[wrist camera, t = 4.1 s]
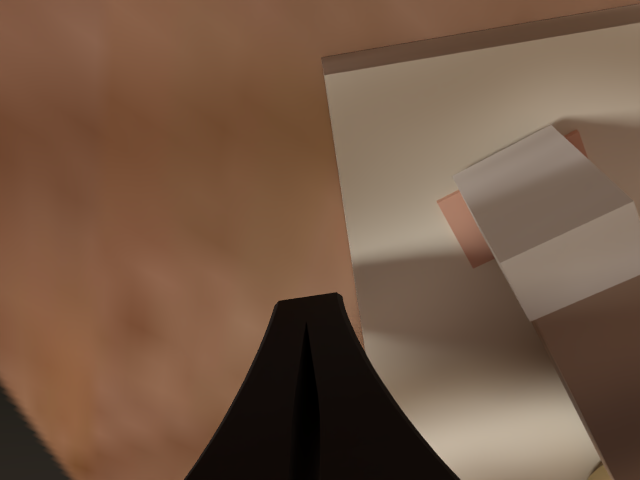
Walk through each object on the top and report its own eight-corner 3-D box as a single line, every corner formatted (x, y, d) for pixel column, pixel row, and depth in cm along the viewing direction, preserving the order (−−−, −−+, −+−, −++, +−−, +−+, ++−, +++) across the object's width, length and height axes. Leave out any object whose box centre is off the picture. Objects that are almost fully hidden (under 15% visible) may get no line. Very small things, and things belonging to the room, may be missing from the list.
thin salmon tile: (576, 129, 10) (578, 131, 10) (602, 204, 11) (604, 207, 11) (436, 200, 11) (437, 203, 11) (471, 265, 12) (473, 268, 12)
